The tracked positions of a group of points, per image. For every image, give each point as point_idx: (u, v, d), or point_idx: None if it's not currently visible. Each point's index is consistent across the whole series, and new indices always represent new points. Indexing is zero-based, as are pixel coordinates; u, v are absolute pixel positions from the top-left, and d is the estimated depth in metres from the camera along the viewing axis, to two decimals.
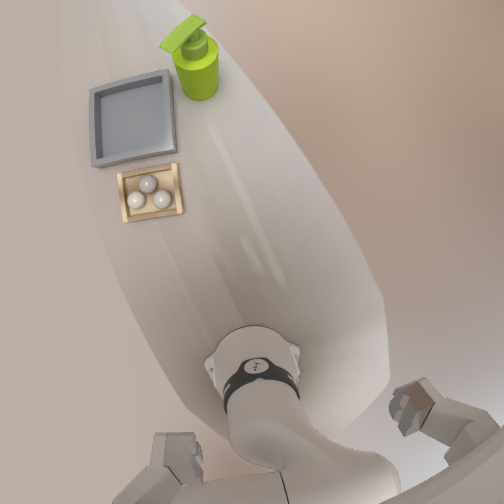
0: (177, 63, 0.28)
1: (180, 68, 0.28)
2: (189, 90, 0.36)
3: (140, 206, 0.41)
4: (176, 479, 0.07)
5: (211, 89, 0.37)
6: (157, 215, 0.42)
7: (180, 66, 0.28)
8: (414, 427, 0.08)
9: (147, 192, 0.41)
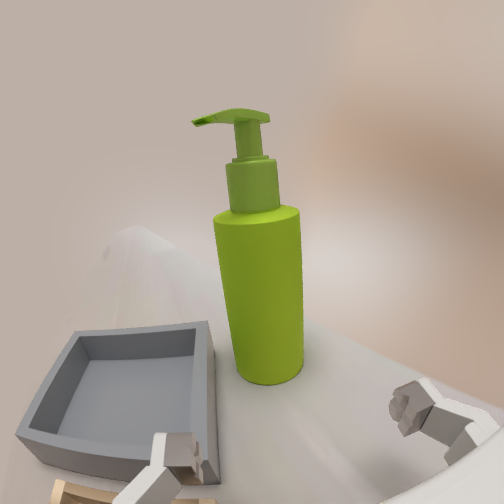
0: (223, 221, 0.17)
1: (229, 230, 0.17)
2: (249, 341, 0.19)
3: None
4: (176, 478, 0.07)
5: (294, 344, 0.20)
6: None
7: (229, 223, 0.17)
8: (414, 427, 0.08)
9: None
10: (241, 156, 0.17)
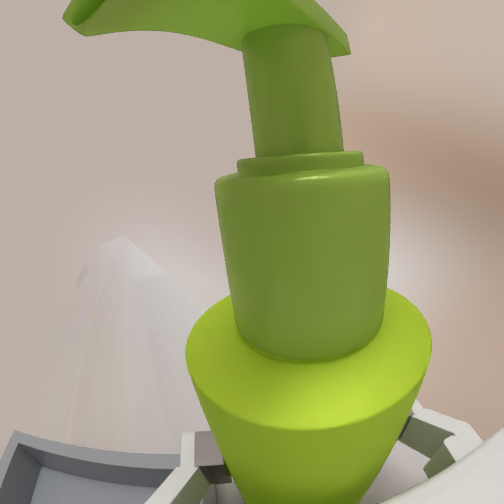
0: (214, 389, 0.05)
1: (237, 426, 0.04)
2: None
3: None
4: (205, 478, 0.07)
5: None
6: None
7: (236, 408, 0.04)
8: None
9: None
10: (273, 151, 0.04)
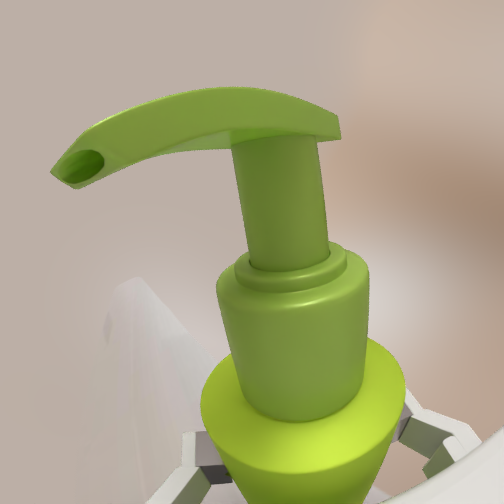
0: (225, 440, 0.06)
1: (242, 467, 0.05)
2: None
3: None
4: (206, 478, 0.07)
5: None
6: None
7: (241, 456, 0.05)
8: None
9: None
10: (264, 265, 0.05)
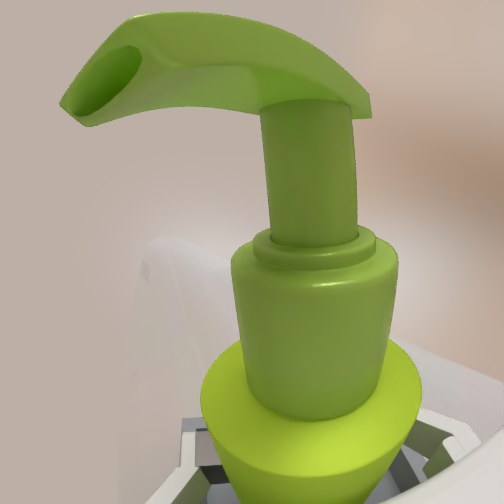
0: (229, 440, 0.05)
1: (248, 470, 0.04)
2: None
3: None
4: (206, 478, 0.07)
5: None
6: None
7: (248, 458, 0.04)
8: None
9: None
10: (290, 241, 0.05)
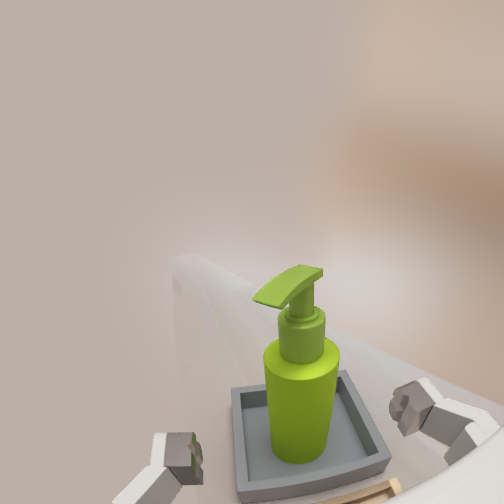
0: (275, 371, 0.19)
1: (281, 380, 0.18)
2: (287, 441, 0.20)
3: None
4: (176, 478, 0.07)
5: (322, 439, 0.21)
6: None
7: (281, 375, 0.18)
8: (414, 427, 0.08)
9: None
10: (294, 315, 0.18)
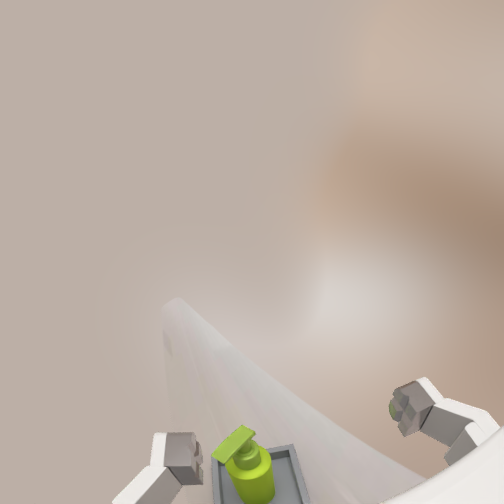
0: (230, 472, 0.26)
1: (234, 477, 0.26)
2: (245, 497, 0.28)
3: None
4: (176, 478, 0.07)
5: (268, 496, 0.29)
6: None
7: (234, 475, 0.26)
8: (414, 427, 0.08)
9: None
10: (239, 451, 0.26)
